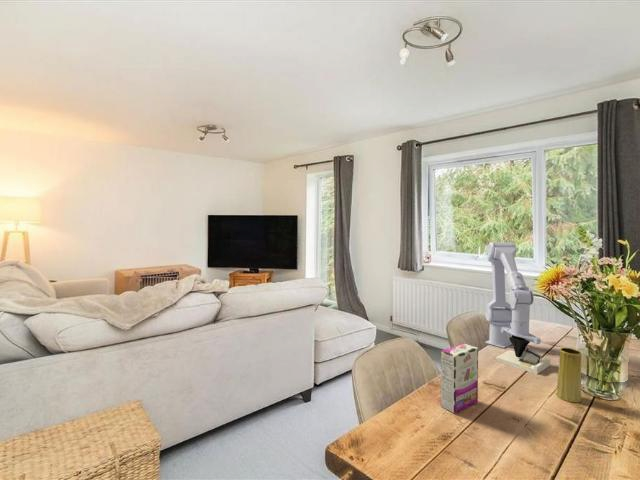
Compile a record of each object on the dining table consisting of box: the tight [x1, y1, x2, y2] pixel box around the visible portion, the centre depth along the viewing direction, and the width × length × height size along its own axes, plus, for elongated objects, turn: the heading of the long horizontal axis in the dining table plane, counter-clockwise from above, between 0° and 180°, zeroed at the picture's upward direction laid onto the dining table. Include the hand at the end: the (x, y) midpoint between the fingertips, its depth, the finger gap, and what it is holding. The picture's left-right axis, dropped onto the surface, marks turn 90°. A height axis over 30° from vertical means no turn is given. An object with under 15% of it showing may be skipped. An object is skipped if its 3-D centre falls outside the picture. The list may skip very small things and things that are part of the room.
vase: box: [556, 347, 582, 403], centre depth 102 cm, size 6×6×14 cm
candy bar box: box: [440, 343, 479, 415], centre depth 97 cm, size 11×5×16 cm, turn 123°
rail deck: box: [495, 349, 551, 375], centre depth 127 cm, size 12×14×2 cm
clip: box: [520, 347, 543, 366], centre depth 125 cm, size 4×5×5 cm
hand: (519, 356), depth 128 cm, fingers closed
